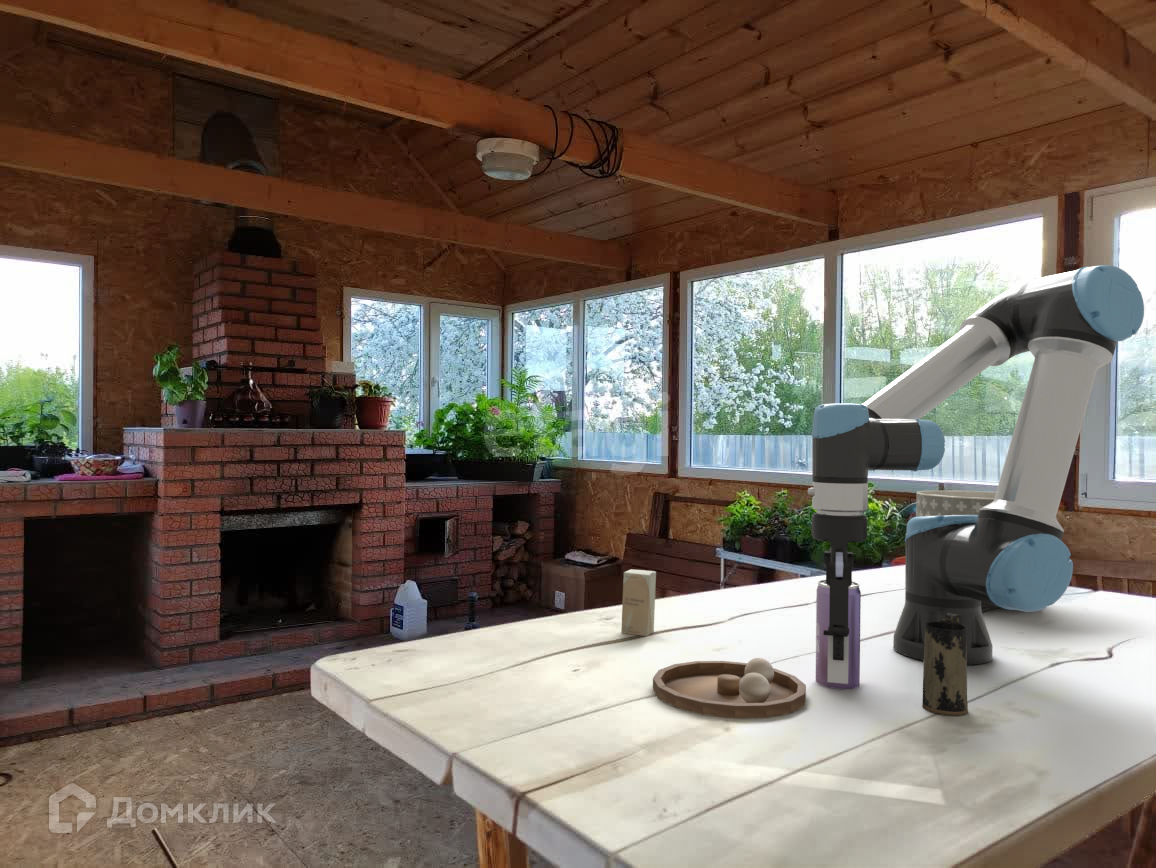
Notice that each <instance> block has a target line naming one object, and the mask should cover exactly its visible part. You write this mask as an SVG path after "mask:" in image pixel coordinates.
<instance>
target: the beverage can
mask: <svg viewBox="0 0 1156 868" xmlns="http://www.w3.org/2000/svg"><path fill="white" fill-rule="evenodd" d="M817 584H818V585H817V588H816V596H815V597H816V605H815V607H816V611H815V613H816V614H815V615H816V617H815V618H816V619H815V682H816V683H817V684H818V685H820V686H823V687H826V688H832V689H835V690H836V689H837V690H852V689H857V688H859V687H860V682H861V681H860V679H861V603H862V602H861V600H862V599H861V595H862V593H861V590H860V584H859V583H858V582H855V581H852V584H851V586H849V597H848V628H849V634H848V635H849V648H848V684H843V683H833V682H828V635H824V630H828V627H829V607H830V586H829V585H827V584H826V579H822V580H819V581H817ZM840 626H843V625H840Z"/></svg>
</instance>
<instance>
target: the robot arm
mask: <svg viewBox="0 0 1156 868" xmlns="http://www.w3.org/2000/svg"><path fill="white" fill-rule="evenodd" d="M1138 287H1139V286H1138V284H1137V282H1136V281H1135V279H1133V277H1132V276H1131V275H1130V274H1129V273H1127V272H1126V271H1125V270H1123V269H1122V268H1120V267H1118V266H1116V265H1109V264H1101V265H1094V266H1083V267H1080V268H1078V269H1076V270H1071V271H1067V272H1062V273H1056V274H1052V275H1046V276H1043V277H1039V278H1038V277H1037V278H1033V279H1028V280H1025V281H1022V282H1020V283H1018V284H1016V285H1014V286H1012V287H1010V288H1009V289H1007V290H1005V291H1004V292H1002V293H1001V294H999V295H998V296H996V297H994V298H993V299H992V300H990V301H989V302H987V303H986V304H985V305H983V306H982V307H980V308H979V309H978V310H976V311H975V312H973V313H972V314H971V315H969V316H968V317H967V318H966V319H964V320H963V321H962V322H961V324H960V326H959V331H958V332H957V333H955V335H953V336H952V337H950V338H949V339H947V340H946V341H945V342H943V343H941V345H939V346H938V347H937V348H936V349H934V350H932V351H931V352H930V353H929V354H927V355H926V356H924V358H921V360H920V361H918V362H916V363H915V364H914V365H913V366H911V367H910V368H908V369H907V370H906V371H904V373H902V374H900V375H899V376H897V378H895V379H894V380H892V381H891V382H890V383H888V384H887V385H886V386H884V387H883V388H882V389H881V390H879V391H878V392H877V393H875V394H874V395H873V396H871V397H870V398H868V399H867V400H866V401H864V402H863V403H824V404H819V405H818V406H816V408H815V409H814V412H813V419H812V431H811V438H812V440H811V441H812V443H811V444H812V453H811V454H812V456H811V457H812V459H811V460H812V467H811V468H812V469H811V471H812V486H813V487H810V488H809V487H808V489H807V494H808V495H811V496H812V495H813V497H812V498H811V501H812V503H811V505H812V506H811V507H812V508H813V510H816V512H814V513H812V515H811V537H812V539H814V540H816V541H819V542H820V541H821V542H828V543H829V542H830V549H829V551H824V554H823V555H824V562H823V563H824V564H823V565H824V567H825V580H826V584H827V585H829V586H830V607H829V627H828V630H824V635H828V682H833V683H843V684H848V648H849V635H848V634H849V628H848V597H849V586H851V584H852V582H853V581H852V580H853V579H852V578H853V573H852V572H853V568H854V564H855V563H854V562H855V560H854V559H855V558H854V557H855V555H854V552H848V548H849V547H848V544H849V543H855V544H857V543H858V544H859V543H863V542H865V541H866V540H867V539H868V517H867V516H866V515H865V514H864V512H867V511H868V510H869V509H868V508H869V478H868V476H869V471H911V472H915V473H916V472H918V471H926V470H927V471H928V470H932V469H935V468H936V467H937V466H938V465H939V464H940V462H941V461H942V459H943V457H944V455H945V450H946V449H945V447H946V444H945V443H946V439H945V434H944V432H943V431H942V428H941V427H940V426H939V425H938V424H937V423H936V422H934V421H932V420H929V419H922V418H923V417H924V416H926V415H927V414H929V413H930V412H931V411H933V410H934V409H935V408H936V407H937V406H939V405H940V404H942V403H943V402H944V401H946V399H948V398H949V397H951V396H952V395H953V394H954V393H956V392H957V391H959V390H960V389H962V387H964V386H965V385H967V384H968V383H970V381H972V380H973V379H974V378H976V377H977V376H979V375H980V374H981V373H983V372H984V371H985V370H986V369H987V368H989V367H998V366H1001V365H1003V364H1004V363H1006V362H1007V361H1008V360H1010V359H1012V358H1013V357H1015V356H1017V355H1020V354H1023V353H1026V352H1027V353H1028V352H1030V353H1031V355H1032V356H1033V357H1034V360H1033V364H1032V368H1031V371H1030V374H1029V377H1028V381H1027V385H1026V387H1025V388H1026V389H1025V392H1024V394H1023V395H1024V396H1023V399H1022V402H1021V405H1020V409H1019V412H1018V416H1017V419H1016V423H1015V426H1014V429H1013V433H1012V437H1011V440H1010V443H1009V446H1008V451H1007V454H1006V458H1005V462H1004V465H1003V467H1002V471H1001V475H1000V478H999V481H998V485H997V488H996V491H995V492H996V495H995V498H994V501H993V502H992V503H990V504H988V505H986V506H984V507H982V508H981V509H980V511H979V514H978V515H948V516H920V517H916V516H914V517H911V518H910V519H909V520H908V522H907V524H906V530H905V531H906V532H905V533H906V534H905V538H904V542H905V546H904V547H905V549H904V550H905V552H904V553H905V555H904V557H905V560H904V561H905V563H904V564H905V566H904V567H905V568H904V569H905V573H904V574H905V577H904V578H905V580H904V581H905V583H904V584H905V586H904V587H905V592H904V593H905V595H904V596H905V599H904V606H903V609H902V611H901V615H900V617H899V620H898V622H897V624H896V628H895V630H894V633H893V645H892V646H893V650H894V651H896V652H897V653H899V654H901V655H904V656H906V657H908V658H909V657H910V658H912V659H917V660H921V661H924V645H925V629H926V623H928V622H940V620H941V619H943V618H944V617H945V616H946V614H947V613H950V614H958V616H959V623H960V625H963V626H966V627H967V666H968V665H970V666H971V665H980V664H986V663H989V662H991V661H992V660H993V642H992V640H991V637H990V634H989V630H988V627H987V625H986V622H985V621H986V620H985V619H984V615H983V612H982V607H981V601H983V602H986V603H990V604H994V605H997V606H999V607H998V608H1002V609H1004V610H1009V611H1015V610H1016V611H1020V612H1026V613H1032V612H1038V611H1043V610H1045V609H1046V608H1047V607H1049V606H1052V605H1054V604H1055V603H1057V602H1058V600H1060V599H1061V598H1062V596H1063V595H1064V594H1065V593H1066V591H1067V589H1068V588H1069V587H1070V586H1069V585H1070V583H1071V581H1072V576H1073V570H1074V563H1073V560H1072V559H1071V558H1070V557H1071V555H1072V553H1071V552H1070V549H1069V547H1068V546H1067V545H1066V544H1065V543H1064V541H1062V540H1063V536H1064V532H1065V530H1064V528H1063V527H1062V525H1061V524H1060V522H1059V521H1058V518H1057V514H1058V511H1059V507H1060V503H1061V500H1062V497H1063V492H1064V490H1065V486H1066V483H1067V478H1068V477H1069V472H1070V468H1071V464H1072V461H1073V457H1074V454H1075V450H1076V446H1077V443H1078V440H1079V436H1080V433H1081V428H1082V425H1083V422H1084V418H1085V414H1086V411H1087V408H1088V404H1089V400H1090V398H1091V394H1092V390H1093V386H1094V383H1095V379H1096V376H1097V372H1098V370H1099V369H1101V368H1102V367H1103V366H1104V367H1105V366H1106V365H1108V364H1109V363H1111V362H1112V360H1113V358H1114V355H1115V351H1116V348H1117V344H1118V342H1123V341H1125V340H1127V339H1130V338H1131V337H1132V336H1133V335H1136V334H1137V333H1138V332H1139V330H1140V329H1141V326H1142V324H1143V321H1144V318H1145V305H1144V299H1143V296H1142V292H1141V291H1140V289H1139V288H1138ZM840 625H843V626H840Z"/></svg>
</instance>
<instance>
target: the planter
mask: <svg viewBox="0 0 1156 868" xmlns="http://www.w3.org/2000/svg"><path fill="white" fill-rule="evenodd" d="M995 495H996V491H984V490H983V491H982V490H981V491H980V490H978V491H977V490H941V489H940V490H920V491H916V507H915V508H916V509H915V513H916V515H915V517H920V516H948V515H978V514H979V511H980V509H981V508H982V507H984V506H986V505H988V504H990V503H992V502H993V501H994V498H995ZM981 608H1000V607H999V606H997V605H994V604H990V603H986V602H983V601H981Z"/></svg>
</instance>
